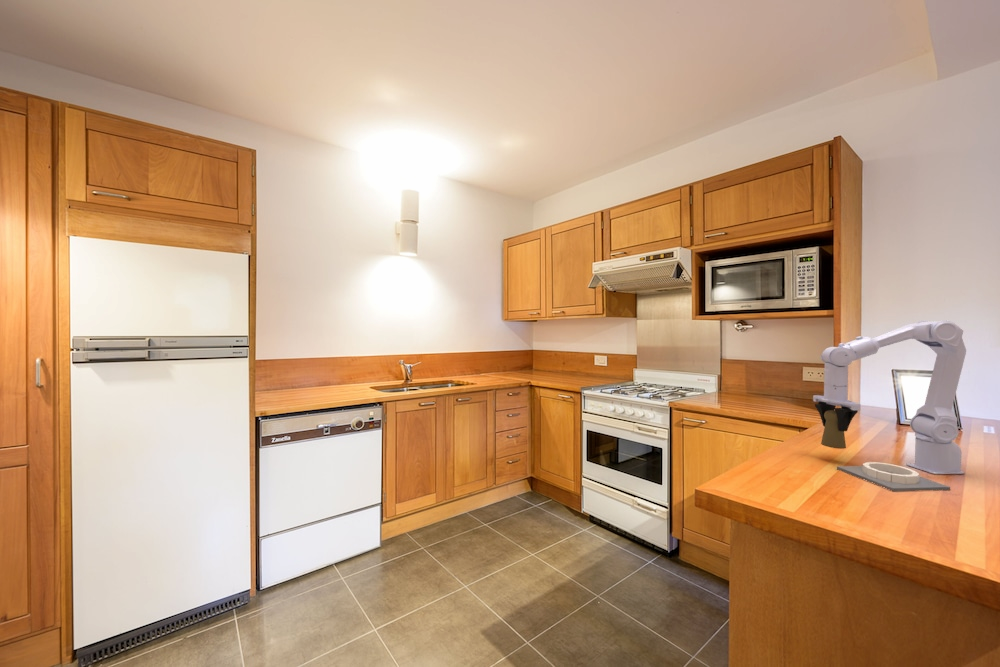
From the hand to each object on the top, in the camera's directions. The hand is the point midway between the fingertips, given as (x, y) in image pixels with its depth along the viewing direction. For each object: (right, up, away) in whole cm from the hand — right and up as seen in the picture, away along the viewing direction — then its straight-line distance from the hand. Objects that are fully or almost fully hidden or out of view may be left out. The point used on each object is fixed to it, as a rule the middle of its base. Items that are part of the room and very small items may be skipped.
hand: (834, 428), depth 126 cm
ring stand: (+4, -11, -14) cm, 18 cm away
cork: (0, -6, 0) cm, 6 cm away
